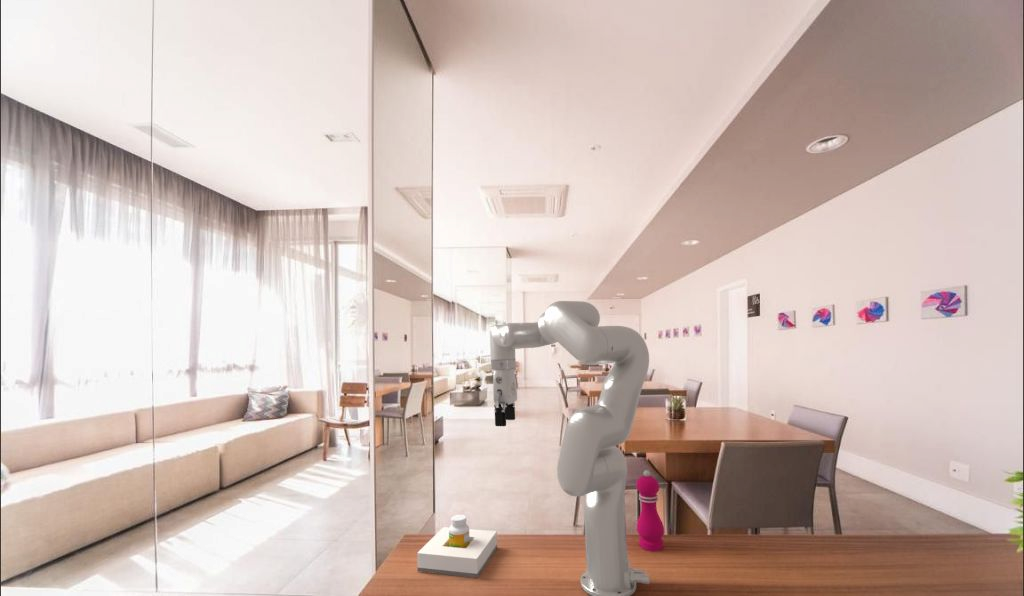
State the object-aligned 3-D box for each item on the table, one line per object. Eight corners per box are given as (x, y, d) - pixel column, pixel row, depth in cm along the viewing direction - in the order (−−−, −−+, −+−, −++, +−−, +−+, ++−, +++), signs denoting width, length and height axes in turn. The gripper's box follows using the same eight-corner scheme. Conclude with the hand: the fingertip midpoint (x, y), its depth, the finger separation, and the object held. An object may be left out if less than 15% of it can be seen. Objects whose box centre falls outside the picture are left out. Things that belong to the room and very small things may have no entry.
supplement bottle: (445, 558, 119) (444, 519, 120) (457, 549, 124) (456, 512, 125) (462, 562, 117) (461, 522, 118) (473, 553, 122) (472, 515, 122)
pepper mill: (667, 553, 119) (661, 474, 121) (638, 551, 121) (633, 473, 123) (663, 540, 127) (658, 466, 128) (636, 539, 128) (632, 466, 130)
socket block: (497, 548, 126) (496, 531, 126) (477, 578, 111) (476, 558, 111) (443, 543, 130) (443, 526, 131) (417, 571, 115) (417, 552, 115)
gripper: (507, 367, 129) (509, 428, 128) (522, 363, 146) (524, 417, 144) (482, 367, 131) (484, 428, 130) (500, 363, 148) (502, 417, 146)
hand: (505, 422), depth 137 cm, fingers open, 9 cm apart
